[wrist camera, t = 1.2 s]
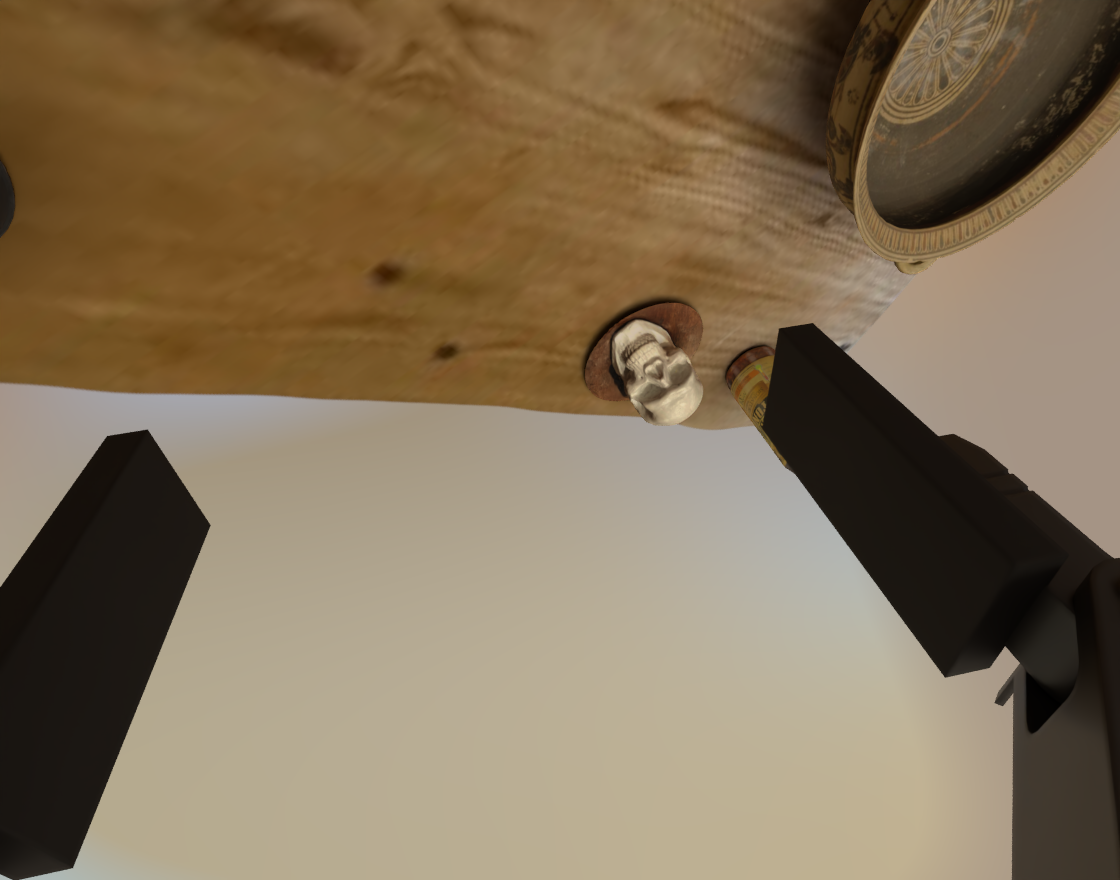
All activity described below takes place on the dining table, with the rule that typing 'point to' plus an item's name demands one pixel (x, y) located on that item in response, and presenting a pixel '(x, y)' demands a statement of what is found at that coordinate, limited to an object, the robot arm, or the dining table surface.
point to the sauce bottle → (754, 387)
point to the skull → (650, 363)
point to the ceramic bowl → (967, 116)
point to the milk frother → (5, 200)
